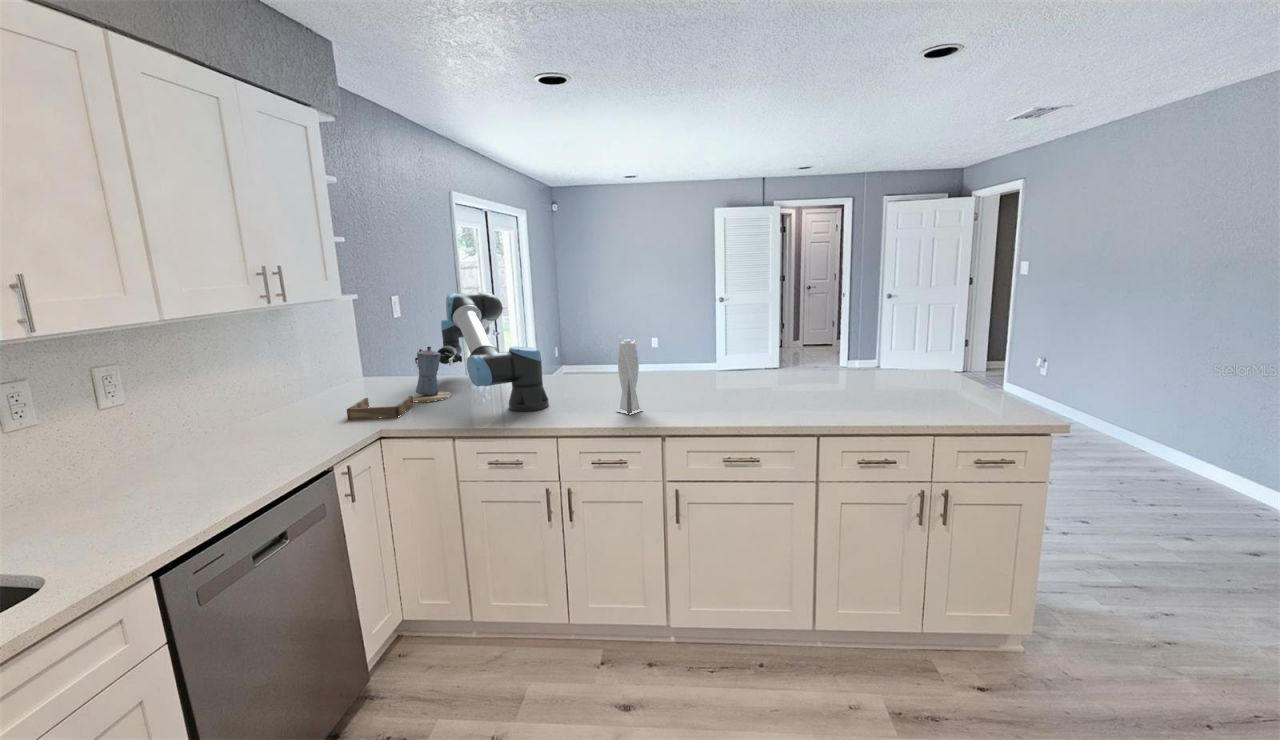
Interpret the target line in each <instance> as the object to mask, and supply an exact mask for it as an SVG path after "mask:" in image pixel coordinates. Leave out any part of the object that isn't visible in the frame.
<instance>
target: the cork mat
mask: <svg viewBox="0 0 1280 740" xmlns="http://www.w3.org/2000/svg"><path fill="white" fill-rule="evenodd" d="M412 396H413V401H418V402H427V401H435V400H441V399H445V398H448V397H450V396H451V397H452V393H451V392H449V391H443V390H442V391H439V390H438V394H435V395H421V394H418V393H416V394H415V395H412ZM451 397H450V398H451ZM448 399H449V398H448ZM445 400H446V399H445ZM441 401H442V400H441Z"/></svg>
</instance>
